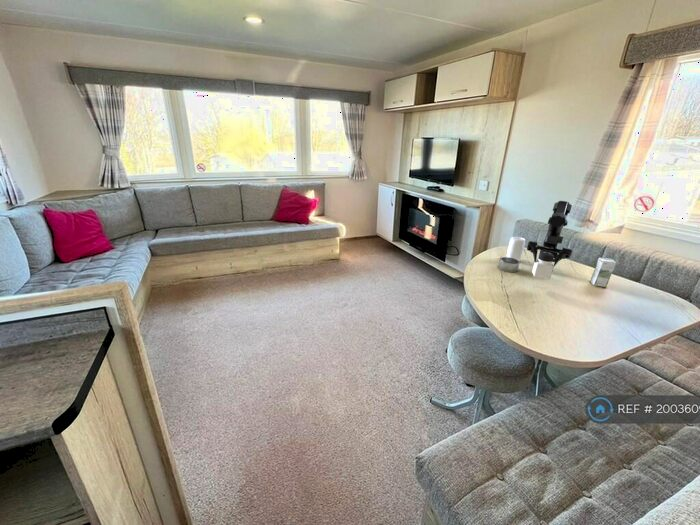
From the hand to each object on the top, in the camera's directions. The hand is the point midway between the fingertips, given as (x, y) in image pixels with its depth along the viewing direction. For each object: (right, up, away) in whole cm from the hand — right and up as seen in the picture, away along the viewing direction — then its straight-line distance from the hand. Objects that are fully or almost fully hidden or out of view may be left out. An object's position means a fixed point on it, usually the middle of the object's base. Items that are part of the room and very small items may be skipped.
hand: (544, 264), depth 152 cm
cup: (+7, +2, +44) cm, 44 cm away
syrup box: (+37, -11, +14) cm, 41 cm away
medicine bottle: (+1, -6, +4) cm, 7 cm away
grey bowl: (-3, -3, +30) cm, 30 cm away
